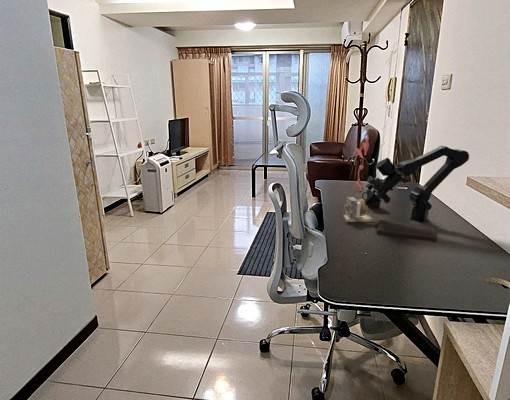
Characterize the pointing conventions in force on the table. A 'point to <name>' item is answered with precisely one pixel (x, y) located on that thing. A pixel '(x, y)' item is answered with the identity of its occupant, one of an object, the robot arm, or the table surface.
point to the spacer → (358, 210)
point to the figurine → (366, 146)
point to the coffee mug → (374, 205)
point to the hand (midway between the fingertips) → (363, 204)
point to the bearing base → (362, 219)
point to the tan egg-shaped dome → (362, 209)
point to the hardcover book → (407, 230)
